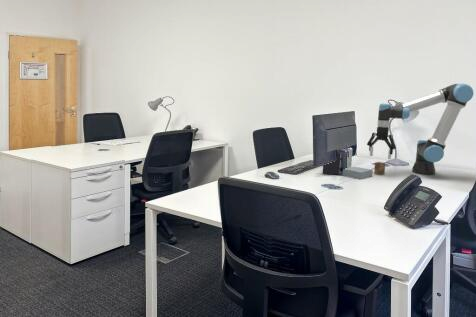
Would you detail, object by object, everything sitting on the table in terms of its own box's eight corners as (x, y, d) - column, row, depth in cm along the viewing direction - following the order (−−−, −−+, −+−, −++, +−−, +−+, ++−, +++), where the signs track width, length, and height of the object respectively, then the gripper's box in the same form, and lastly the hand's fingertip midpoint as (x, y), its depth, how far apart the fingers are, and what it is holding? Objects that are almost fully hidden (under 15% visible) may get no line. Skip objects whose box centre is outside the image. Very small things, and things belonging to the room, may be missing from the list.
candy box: (337, 167, 306) (338, 145, 303) (344, 167, 307) (346, 145, 304) (343, 171, 293) (344, 148, 290) (351, 171, 293) (352, 148, 290)
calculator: (338, 173, 284) (339, 152, 281) (339, 175, 280) (340, 153, 277) (322, 173, 285) (323, 151, 282) (323, 174, 281) (324, 152, 278)
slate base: (372, 177, 277) (372, 169, 276) (360, 180, 268) (361, 172, 267) (354, 173, 287) (354, 166, 286) (342, 176, 278) (342, 168, 277)
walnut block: (384, 174, 285) (385, 162, 283) (380, 175, 281) (381, 163, 280) (377, 173, 288) (378, 161, 287) (374, 174, 285) (374, 162, 284)
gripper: (363, 125, 286) (360, 155, 289) (397, 128, 267) (394, 160, 271) (369, 124, 291) (366, 154, 294) (403, 128, 272) (399, 159, 276)
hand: (380, 157), depth 283 cm, fingers open, 13 cm apart
